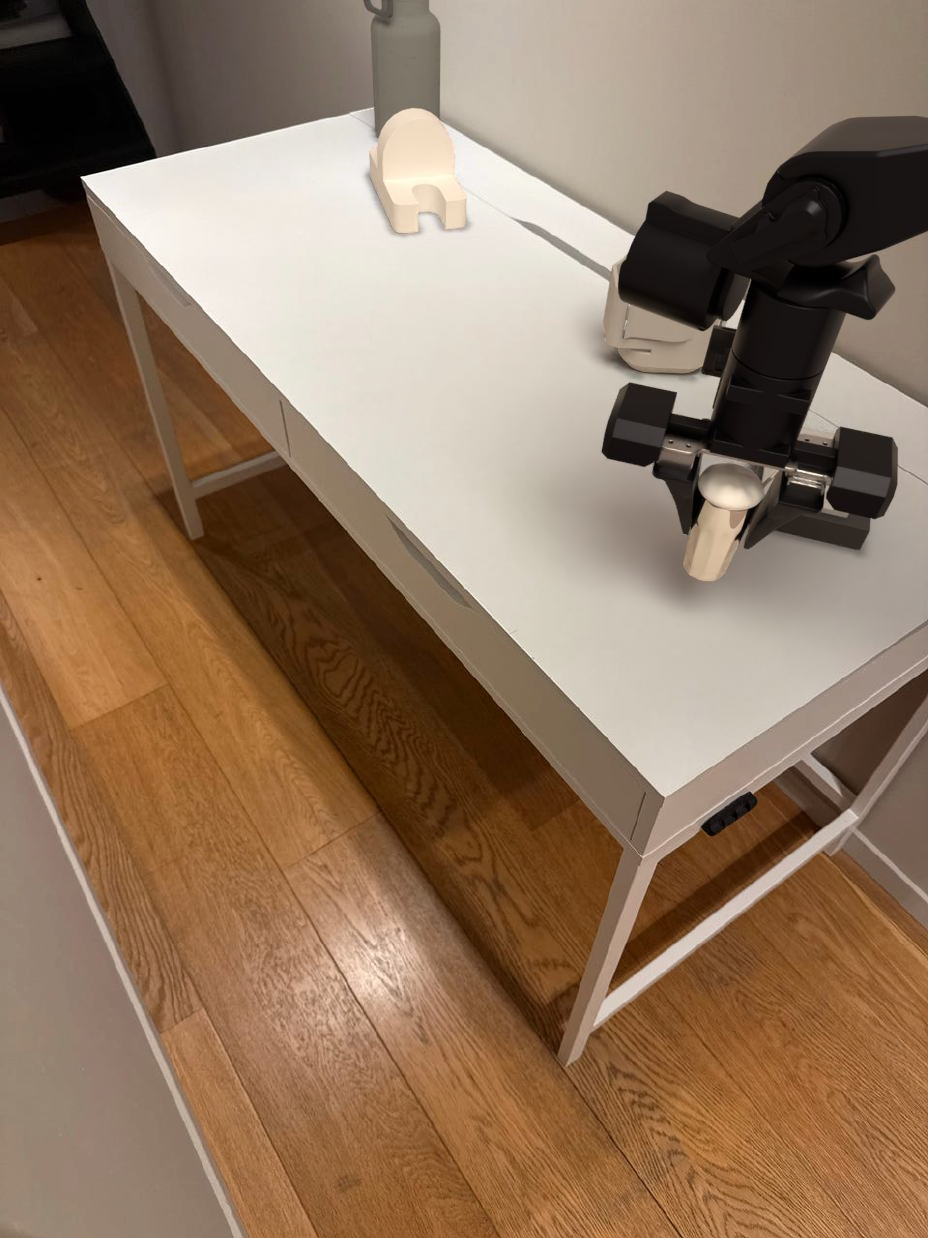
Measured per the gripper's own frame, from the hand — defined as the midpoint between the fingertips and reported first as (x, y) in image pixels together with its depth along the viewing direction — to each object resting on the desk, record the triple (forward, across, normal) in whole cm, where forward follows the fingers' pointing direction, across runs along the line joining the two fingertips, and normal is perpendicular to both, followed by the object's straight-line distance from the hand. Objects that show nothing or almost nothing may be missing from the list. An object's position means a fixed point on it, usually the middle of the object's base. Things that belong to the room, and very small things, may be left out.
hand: (716, 538), depth 66 cm
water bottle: (+8, +56, -82) cm, 100 cm away
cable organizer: (+9, +10, -35) cm, 37 cm away
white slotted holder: (+8, +47, -62) cm, 78 cm away
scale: (+8, -8, -19) cm, 22 cm away
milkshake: (+3, 0, 0) cm, 3 cm away
